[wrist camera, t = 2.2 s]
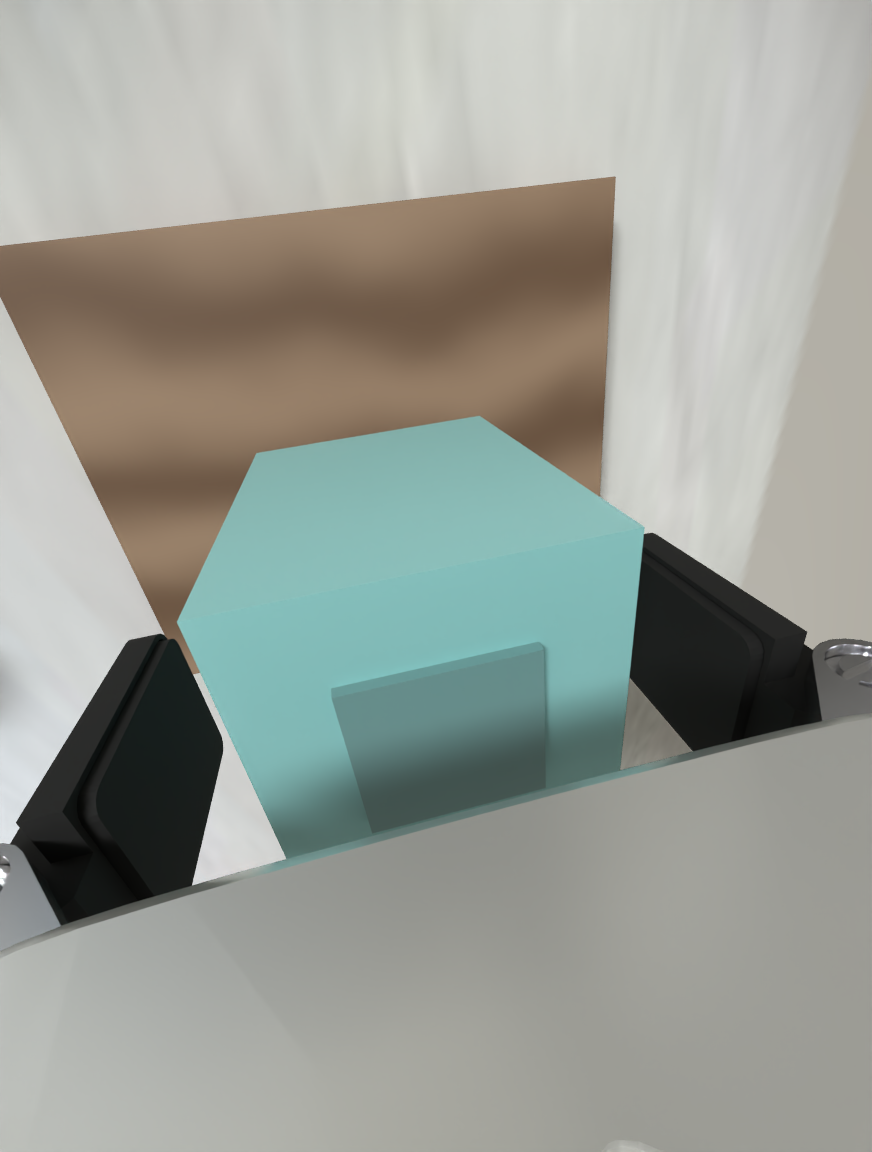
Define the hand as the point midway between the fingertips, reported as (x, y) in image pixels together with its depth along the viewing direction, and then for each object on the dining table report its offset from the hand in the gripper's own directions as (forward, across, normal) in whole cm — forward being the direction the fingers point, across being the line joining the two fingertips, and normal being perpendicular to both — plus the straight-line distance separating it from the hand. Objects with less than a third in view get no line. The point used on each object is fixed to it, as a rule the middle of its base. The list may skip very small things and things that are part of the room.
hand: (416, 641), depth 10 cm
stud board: (+15, 0, -1) cm, 15 cm away
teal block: (+5, 0, 0) cm, 5 cm away
